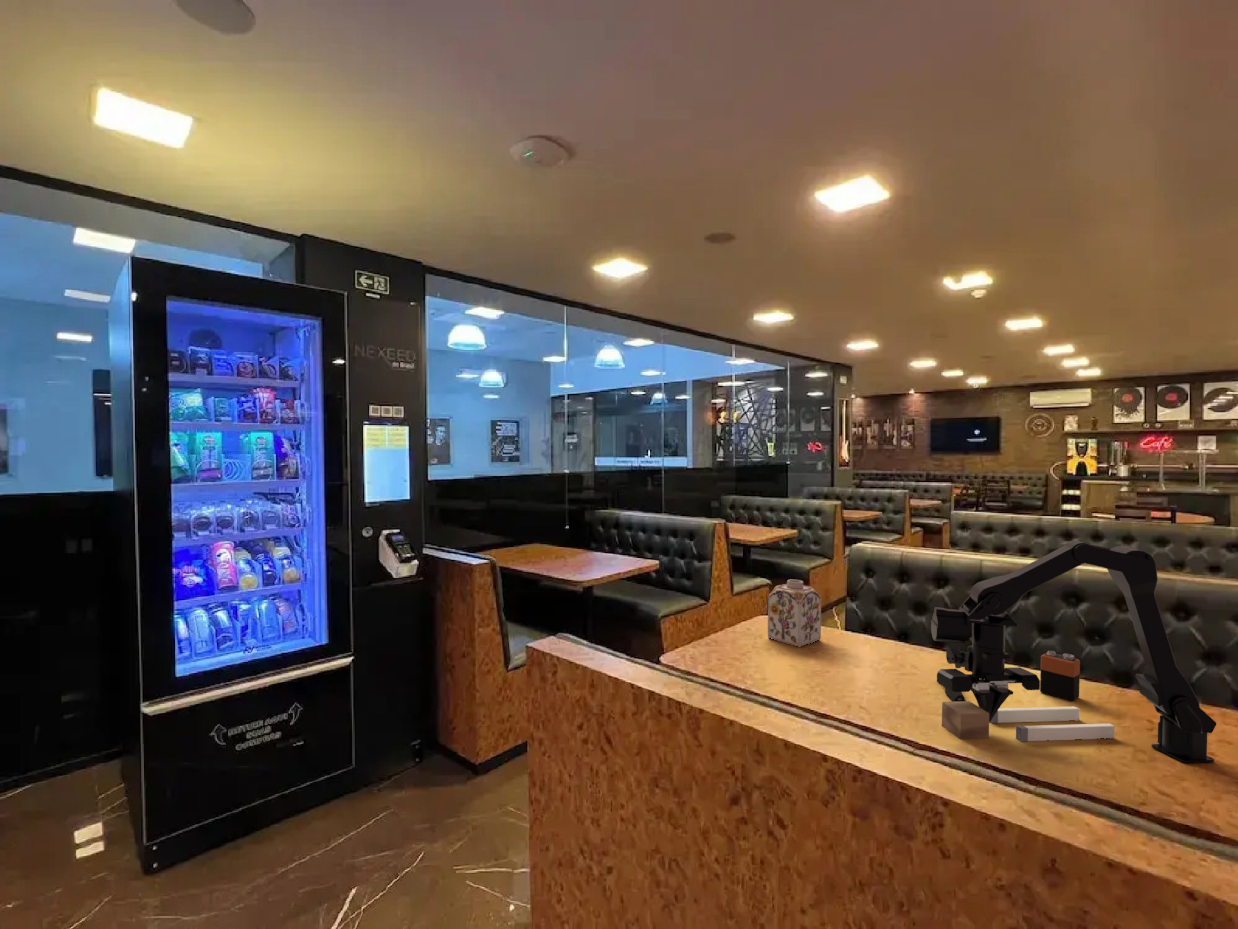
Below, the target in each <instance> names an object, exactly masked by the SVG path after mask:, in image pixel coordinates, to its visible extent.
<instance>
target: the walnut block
mask: <svg viewBox="0 0 1238 929" xmlns="http://www.w3.org/2000/svg"><path fill="white" fill-rule="evenodd" d="M941 703H942V704H941V726H942V727H943V728H945V730H946V731H948V732H950V733H951V734H952V735H953V736H955V737H957V738H958V739H959V740H970V739H971V740H973V739H989V737H990V722H989V713H988V712H986V711H985V710H983V709H981V708H980V707H979V705H978V704H977V705H976V704H975V703H973V702H971V701H969V700H966V701H957V702H954V701H942V702H941Z"/></svg>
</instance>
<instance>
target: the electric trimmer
mask: <svg viewBox="0 0 1238 929" xmlns="http://www.w3.org/2000/svg"><path fill="white" fill-rule="evenodd" d="M943 688H944V694H945V695H946V696H948V698H949V699H951V701H952V702H957V701H967V700H966V698H965V696H964V694H963V692H954V691H951V690H950V689H948V688H946V687H945V686H943Z"/></svg>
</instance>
